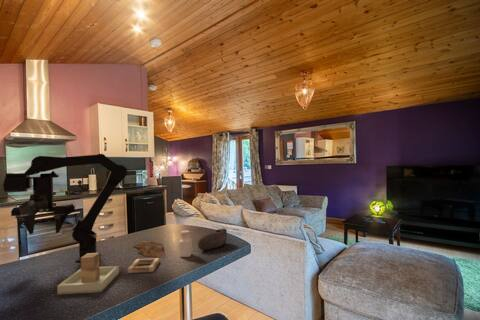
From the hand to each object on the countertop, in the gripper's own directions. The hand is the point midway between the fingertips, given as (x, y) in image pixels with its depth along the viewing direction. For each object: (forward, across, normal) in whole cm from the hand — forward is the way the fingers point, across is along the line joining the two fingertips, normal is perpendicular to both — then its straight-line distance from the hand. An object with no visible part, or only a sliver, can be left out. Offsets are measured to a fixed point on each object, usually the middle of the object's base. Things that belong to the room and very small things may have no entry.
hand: (44, 233), depth 91 cm
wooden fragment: (+13, +34, +13) cm, 39 cm away
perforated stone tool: (+12, +60, +12) cm, 63 cm away
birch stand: (+12, +37, -5) cm, 39 cm away
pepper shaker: (+12, +50, +4) cm, 52 cm away
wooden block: (+11, +24, -15) cm, 30 cm away
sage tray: (+12, +24, -15) cm, 31 cm away
